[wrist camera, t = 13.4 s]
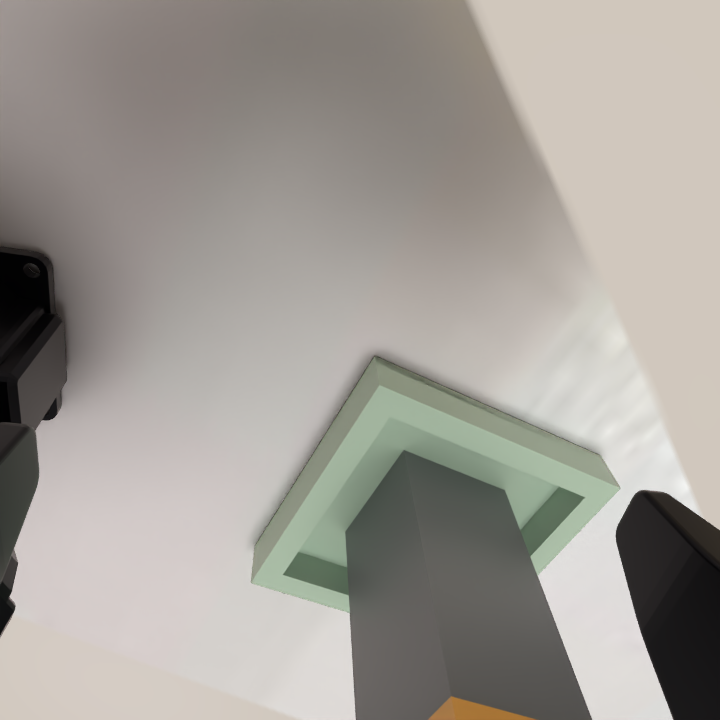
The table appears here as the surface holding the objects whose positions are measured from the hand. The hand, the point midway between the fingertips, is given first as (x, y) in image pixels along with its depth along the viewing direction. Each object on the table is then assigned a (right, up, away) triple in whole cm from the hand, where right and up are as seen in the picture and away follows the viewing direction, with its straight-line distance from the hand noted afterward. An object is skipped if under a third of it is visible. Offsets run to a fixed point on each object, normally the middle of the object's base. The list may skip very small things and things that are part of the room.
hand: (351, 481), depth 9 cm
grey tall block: (+3, -5, +17) cm, 18 cm away
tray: (+3, -4, +18) cm, 19 cm away
